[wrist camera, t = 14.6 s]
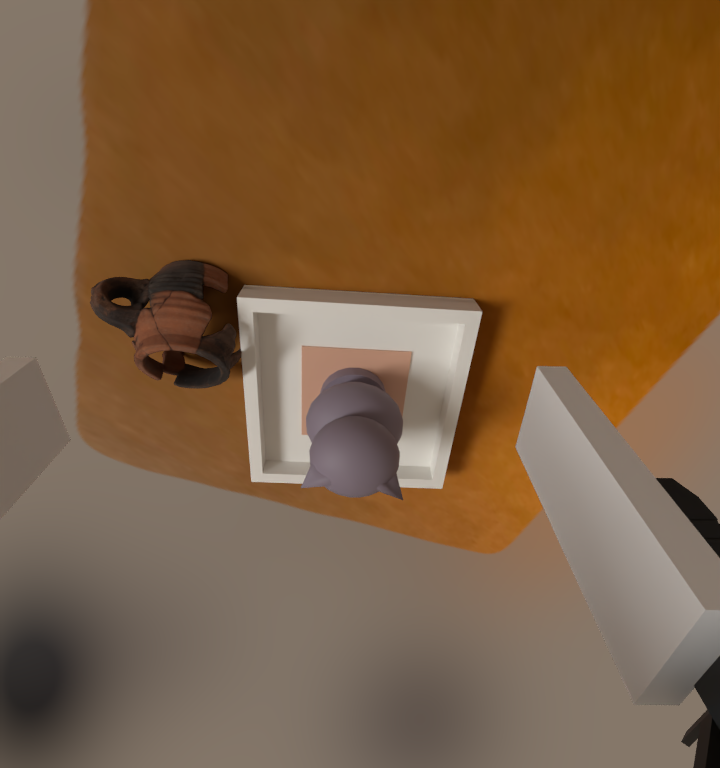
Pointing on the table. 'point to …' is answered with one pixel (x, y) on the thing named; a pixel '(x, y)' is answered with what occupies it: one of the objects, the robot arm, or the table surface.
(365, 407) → the cat figurine
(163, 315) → the pottery mug
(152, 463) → the table surface
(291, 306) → the tray
